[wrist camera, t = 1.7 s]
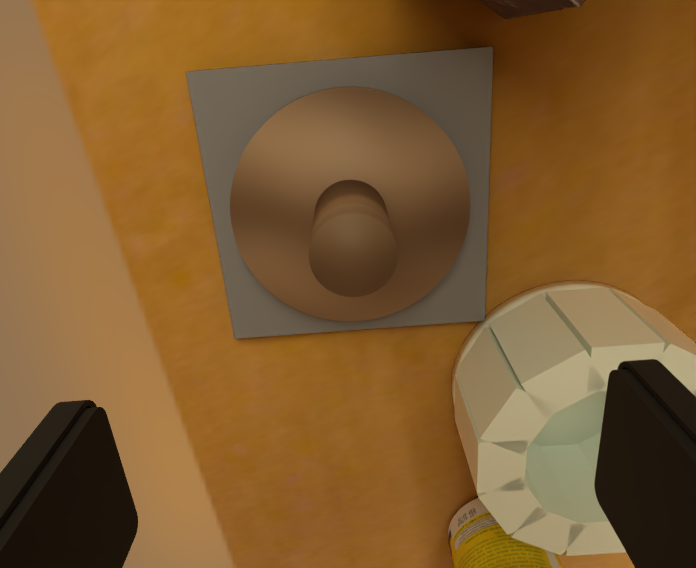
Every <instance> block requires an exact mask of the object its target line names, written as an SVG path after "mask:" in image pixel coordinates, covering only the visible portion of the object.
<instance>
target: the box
mask: <svg viewBox="0 0 696 568" xmlns="http://www.w3.org/2000/svg"><path fill="white" fill-rule="evenodd" d="M481 1H482V2H483V3H485V4H486V5H487V6H489V7H490V8H492V9H493V10H494V11H496V12H497V13H498V14H500V15H501V16H502V17H504V18H505V19H509V18H513V17H520V16H527V15H532V14H538V13H541V12H548V11H554V10H562V9H564V8H567V7H580V6H582V4H583V3H584V2H585V1H586V0H481Z"/></svg>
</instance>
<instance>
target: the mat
mask: <svg viewBox="0 0 696 568" xmlns="http://www.w3.org/2000/svg"><path fill="white" fill-rule="evenodd" d="M492 72H493V47H478V48H466V49H454V50H441V51H429V52H417V53H405V54H393V55H381V56H368V57H356V58H344V59H332V60H320V61H307V62H295V63H283V64H271V65H259V66H246V67H234V68H222V69H210V70H198V71H188V72H186V76H187V81H188V87H189V92H190V98H191V103H192V108H193V114H194V119H195V125H196V130H197V136H198V141H199V147H200V152H201V157H202V163H203V168H204V174H205V179H206V185H207V190H208V196H209V201H210V207H211V212H212V217H213V223H214V228H215V234H216V239H217V245H218V250H219V256H220V261H221V267H222V272H223V277H224V283H225V288H226V294H227V299H228V305H229V310H230V316H231V321H232V326H233V332H234V337H235V339H239V338H252V337H266V336H280V335H294V334H308V333H322V332H335V331H349V330H363V329H377V328H391V327H404V326H418V325H432V324H446V323H460V322H474V321H485V303H486V270H487V237H488V204H489V171H490V138H491V105H492ZM348 86H358V87H366V88H374V89H377V90H381V91H385V92H388V93H391V94H393V95H396V96H398V97H400V98H403V99H405V100H406V101H408V102H410V103H411V104H413V105H415V106H416V107H418V108H419V109H420V110H422V111H423V112H424V113H425V114H427V115H428V116H429V117H430V118H431V119H433V120H434V121H435V122H436V123H437V124H438V125H439V127H440V128H441V129H442V130H443V131H444V132H445V133H446V135H447V136H448V137H449V139H450V140H451V142H452V143H453V145H454V146H455V148H456V150H457V152H458V154H459V156H460V158H461V160H462V163H463V166H464V169H465V171H466V174H467V179H468V184H469V189H470V218H469V224H468V229H467V233H466V237H465V240H464V243H463V245H462V248H461V250H460V252H459V254H458V256H457V258H456V260H455V262H454V264H453V265H452V267H451V268H450V270H449V271H448V272H447V274H446V275H445V276H444V278H443V279H442V280H441V281H440V282H439V283H438V284H437V285H436V286H435V287H434V288H433V289H432V290H431V291H430V292H429V293H427V294H426V295H425V296H424V297H422V298H421V299H419V300H418V301H416V302H415V303H413V304H412V305H410V306H408V307H406V308H404V309H402V310H400V311H398V312H395V313H392V314H390V315H387V316H383V317H379V318H375V319H370V320H363V321H337V320H328V319H324V318H319V317H315V316H312V315H309V314H306V313H304V312H301V311H299V310H297V309H295V308H293V307H291V306H289V305H287V304H286V303H284V302H283V301H281V300H280V299H278V298H277V297H275V296H274V295H273V294H272V293H271V292H269V291H268V290H267V289H266V288H265V287H264V286H263V285H262V284H261V283H260V282H259V281H258V280H257V279H256V277H255V276H254V275H253V273H252V272H251V270H250V269H249V268H248V266H247V264H246V263H245V261H244V259H243V257H242V255H241V253H240V251H239V248H238V246H237V243H236V241H235V237H234V233H233V229H232V225H231V216H230V193H231V188H232V182H233V177H234V174H235V171H236V168H237V165H238V162H239V160H240V158H241V156H242V154H243V152H244V150H245V148H246V147H247V145H248V144H249V142H250V141H251V139H252V138H253V136H254V135H255V134H256V133H257V131H258V130H259V129H260V128H261V127H262V126H263V125H264V123H265V122H266V121H267V120H268V119H269V118H270V117H272V116H273V115H274V114H275V113H276V112H277V111H279V110H280V109H281V108H283V107H284V106H286V105H288V104H289V103H291V102H292V101H294V100H296V99H298V98H300V97H303V96H305V95H307V94H310V93H313V92H316V91H320V90H323V89H328V88H335V87H348Z"/></svg>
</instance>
